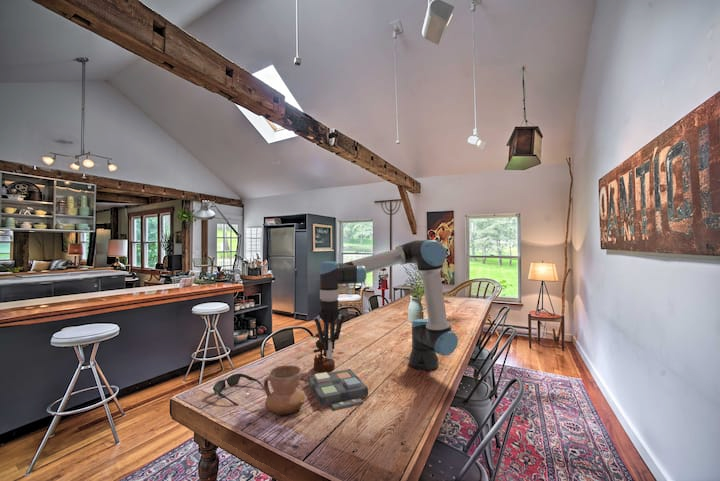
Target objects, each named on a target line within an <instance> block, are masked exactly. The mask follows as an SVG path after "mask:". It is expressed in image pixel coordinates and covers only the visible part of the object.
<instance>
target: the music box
mask: <svg viewBox="0 0 720 481" xmlns="http://www.w3.org/2000/svg"><path fill="white" fill-rule="evenodd" d="M322 333H323V337H324V329H322ZM311 338H312V339H314V338H315V339H316V341H315V349H313V353H314V354H315V356H314V358H313V361H314V362H313V370H314V372H316V373H318V374H319V373H324V372H327V373H330V372H334V370H335V369H336V364H335V363H336V362H335V360H334V359H333V358H332V359H328V358H327V350H325V349H324V342H322V341H321V340H320V338H319V334H318V332H317V333H316V334H314V335H311ZM329 340H330V337H329ZM334 345H335V342H334ZM317 353H318V354H317ZM333 353H334V349H332V354H333Z"/></svg>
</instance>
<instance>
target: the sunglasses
mask: <svg viewBox="0 0 720 481" xmlns="http://www.w3.org/2000/svg"><path fill="white" fill-rule="evenodd" d="M241 378H245V379H246V380H248V381H254V382H257V383H258V384H259V385H260V386H261V388H262V390H263V391H265V389H264V384H262V383H261V381H259V380H258V379H256V378H254V377H252V376H249V375H247V374H244V373H234V374H232V375H230V376H228V377H226V378H224V379H221V380H218V381H217V382H216V383H215V384H214V385H213V387H212V390H213V391H214V395H217V396H218V397H221V398H224V399H226V400H227V401H228V402H230V403H231V404H233V405H234V406H240V405H239V404H238V403H236V402H235V401H233V400H232V399H230V398H228V396H226V395H225V394H223V390H224V389H226V387H227V386H226V383H227V385H228V386H229V387H233V386H236V385H238V384H239V382H240V379H241Z"/></svg>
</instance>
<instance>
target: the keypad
mask: <svg viewBox="0 0 720 481" xmlns="http://www.w3.org/2000/svg"><path fill="white" fill-rule="evenodd" d="M343 372H348V373H349V374H350V375H351V376H352V377H348V378H343V379H339V378H338V376H337V375H336V374H338V373H343ZM327 373H328V375H329V376H330V381H327V382H322V383H317V382H316V380H315V374H313V375H309V376H307V377H308V378H307V379H308V381H307V383H308V387H309V388H310V391H312V394H313V395H314V397H315V400H316V401H317V403H318V405H319V407H320V408H322V407H326V406H331V404H333V403H338V402H342V401H346V400H351V399H355V398H361V399H362V398H366V397H369V387H368V386H367V385H366V384H365V383H364V382H363V381H362V380H361V379H360V378H359V376H357V375H356V374H355V372H354V371H353V370H352V369H351V368H347V369H342V370H336V371H331V372H327ZM354 377H356V378H357V379H358V380H359V381H360V383H361V387H357V388H352V389H347V388H346V386H345V385H344V379H349V378H354ZM332 385H334V387H335V388H336V389H337V391H338V392H333V393H328V394H323V392H322V390H321V388H322V387H327V386H332Z"/></svg>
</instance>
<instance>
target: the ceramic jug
mask: <svg viewBox="0 0 720 481" xmlns="http://www.w3.org/2000/svg"><path fill="white" fill-rule="evenodd" d="M301 376H302V368H301V367H299V366H297V365H281V366H280V365H279V366H276V367H273V368H271V369H270V370H269V371H268V376H265V377H264V380H263V387H264V389H265V390H264V391H265V393H266V396H267V397H266V399H265V408H266V409H267V411H268V412H269V413H272V414H275V415H281V416H283V415H289V414H293V413H294V412H296V411H298V410H300V408H301V407H302V406H304V403H305V400H306V397H305V394H304V393H303V391H302V390H300V389H298V386H301V387H303V386H305V384H306V382H305V381H304V380H300V379H301ZM269 382H270V386H271V389H272V390H273V391H272V392H271V390H270V388H269Z"/></svg>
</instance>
